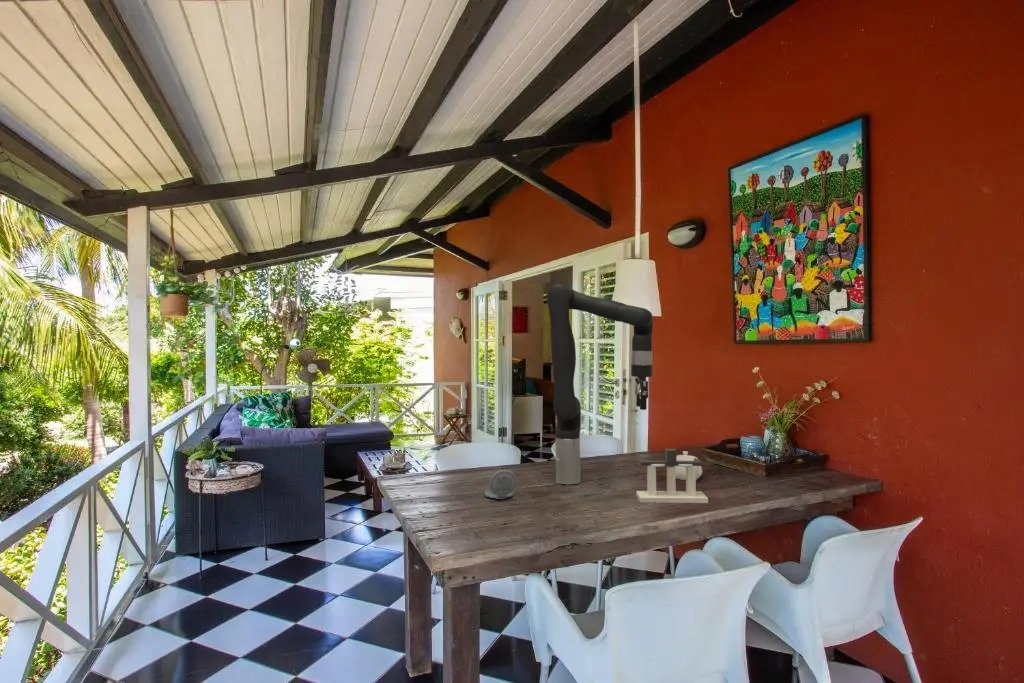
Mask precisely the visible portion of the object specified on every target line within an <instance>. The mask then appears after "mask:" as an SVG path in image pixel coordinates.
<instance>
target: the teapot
mask: <svg viewBox="0 0 1024 683" xmlns="http://www.w3.org/2000/svg"><path fill="white" fill-rule="evenodd" d="M688 453H689V451H686V450H685V451H682V454H676V461H694V458H697V459H698V460H699V458H698V457H697V456H693V455H690V454H688ZM702 467H703V466H695V473H696V481H697V480H698V479H699V478H700V477H701V476H702V474H703V468H702ZM675 476H676V480H679V479H680V481H686V467H681V466H675Z"/></svg>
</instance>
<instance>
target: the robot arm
mask: <svg viewBox="0 0 1024 683" xmlns="http://www.w3.org/2000/svg"><path fill="white" fill-rule="evenodd" d="M546 302H547V307H548V313H549V321H550V356H551V358H550V359H551V365H552V367H551V368H552V376H553V382H554V383H553V384H554V385H553V386H554V387H553V391H554V392H553V412H554V414H555V417H556V428H555V431H554V432H555V484H556V483H561V484H577V483H579V484H581V428H582V426H581V425H582V422H581V420H582V418H581V417H582V415H581V414H582V411H581V410H582V409H581V408H582V407H581V403H580V402H581V401H580V400H579V398H577V396H576V395H575V386H574V381H575V380H574V379H575V372H576V364H577V363H576V362H577V354H576V353H577V352H576V342H575V338H574V333H573V329H572V326H571V321H570V310H575V311H576V310H577V311H582V312H585V313H589V314H592V315H594V316H598V317H600V318H603V319H605V320H611V321H615V322H621V323H624V324H627V325H631V326H633V335H632V339H631V340H632V341H631V356H630V358H631V359H630V376H632V377H635V379H634V380H635V381H634V382H635V383H634V384H635V385H634V393H635V394H634V395H635V396H636V398H635V402H636V403H635V405H636V407H637V408H638V407H639V409H640V410H642V411H646V410H647V404H648V402H647V399H648V398H649V381H648V380H647V378H651V377H652V376H653V340H652V339H653V338H652V335H653V325H654V324H653V323H654V322H653V320H654V317H653V314H652V312H651V311H650V310H649V309H647V308H645V307H644V308H643V307H639V306H634V305H629V304H626V303H623V302H619V301H616V300H612V299H608V298H602V297H597V296H591V295H588V294H584V293H582V292H579V291H577V290H575V289H572V288H571V287H569V286H567V285H565V284H561V283H555V284H553V285H551V286H550V287H549V288H548V291H547V293H546ZM561 484H560V485H561ZM577 485H578V484H577Z"/></svg>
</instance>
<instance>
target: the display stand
mask: <svg viewBox="0 0 1024 683" xmlns="http://www.w3.org/2000/svg"><path fill="white" fill-rule="evenodd" d="M676 480H677V479H676V476H675V466H666V491H665V490H657V467H654V466H646V484H647V486H646V489H647V490H636V492H635V493H636V498H637V499H638V501H639V502H640V503H654V502H656V503H659V504H660V503H664V504H665V503H669V504H671V503H672V504H674V503H675V504H676V503H677V504H678V503H679V504H682V503H683V504H685V503H686V504H709V498H708V497H707V496H706V495H705V494H704V493H703V492H702V491H701V490H699V491H697V489H696V483H697V480H696V473H695V466H691V467H686V480H685V484H686V485H685V491H684V490H683V491H681V490H679V491H677V490H676V484H677V483H676Z"/></svg>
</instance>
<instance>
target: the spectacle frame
mask: <svg viewBox="0 0 1024 683" xmlns="http://www.w3.org/2000/svg"><path fill="white" fill-rule="evenodd" d="M664 454H665V459H664V460H642V459H641V457H639V458H638V457H637V461H638V463H639V464H640V465H641V467H643V466H644V467H647V466H654V467H656V468H661V467H667V466H681V467H691V466H701V467H703V462H702V461H701V460H699V458H698V457H697V458H698V459H697V458H694V461H676V456H677V449H675V448H665V453H664Z"/></svg>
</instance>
